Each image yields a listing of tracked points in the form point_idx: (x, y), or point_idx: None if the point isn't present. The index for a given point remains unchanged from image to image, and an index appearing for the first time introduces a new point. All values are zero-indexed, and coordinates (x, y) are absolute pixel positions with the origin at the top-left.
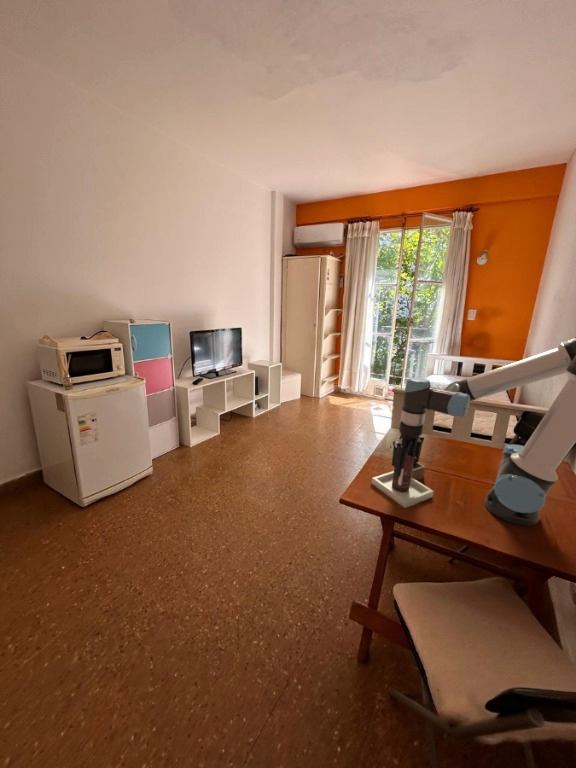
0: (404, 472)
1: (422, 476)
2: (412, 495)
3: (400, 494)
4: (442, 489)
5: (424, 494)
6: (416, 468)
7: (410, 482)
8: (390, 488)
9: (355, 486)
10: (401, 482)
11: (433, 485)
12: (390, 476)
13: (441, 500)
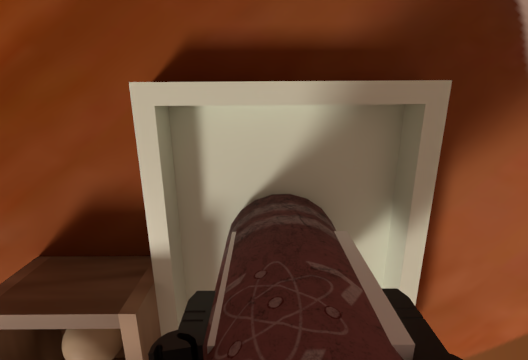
0: (364, 302)
1: (43, 264)
2: (276, 150)
3: (338, 191)
4: (7, 115)
5: (238, 83)
6: (62, 326)
7: (179, 249)
8: None
9: (482, 349)
10: (343, 243)
11: (36, 174)
12: None
13: (116, 27)
